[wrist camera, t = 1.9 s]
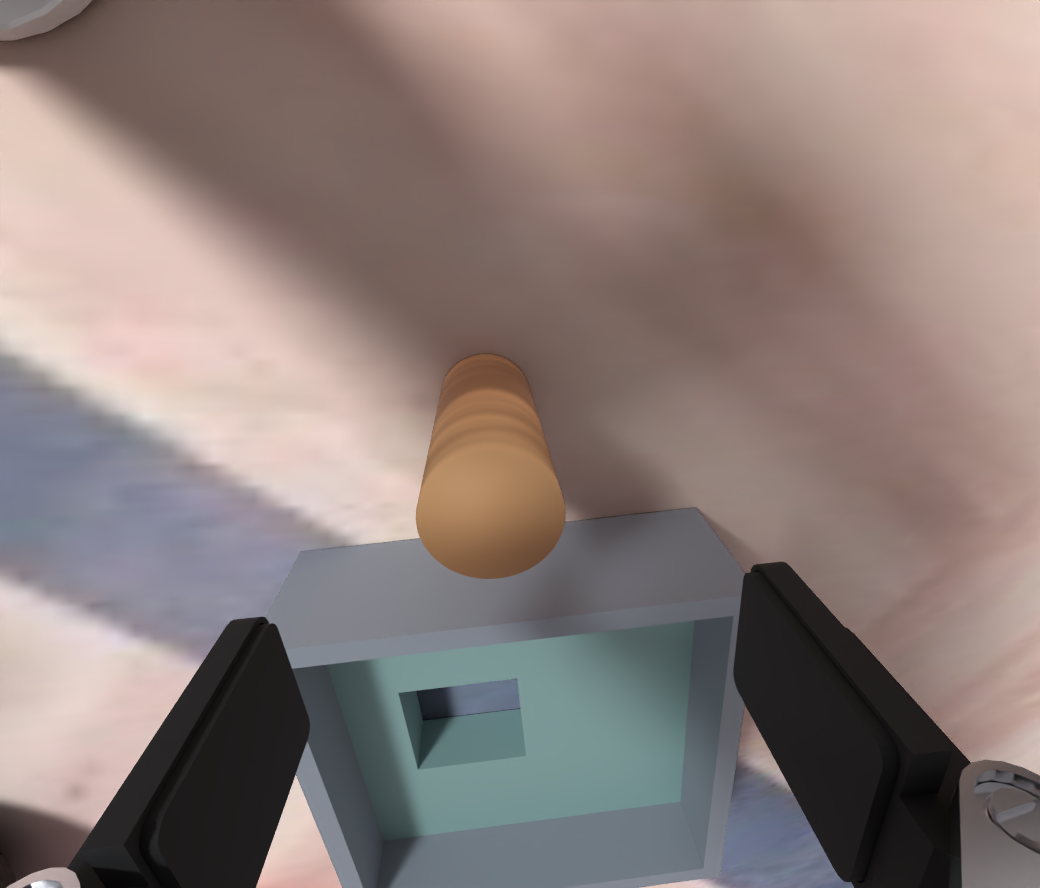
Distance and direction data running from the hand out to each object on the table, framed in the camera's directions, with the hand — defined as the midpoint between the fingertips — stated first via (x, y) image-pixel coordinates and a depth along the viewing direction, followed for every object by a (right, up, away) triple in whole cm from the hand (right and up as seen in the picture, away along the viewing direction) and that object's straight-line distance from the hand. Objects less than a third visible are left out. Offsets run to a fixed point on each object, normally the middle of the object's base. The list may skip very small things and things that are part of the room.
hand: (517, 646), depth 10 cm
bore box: (0, -9, +19) cm, 22 cm away
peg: (-2, +6, +13) cm, 14 cm away
